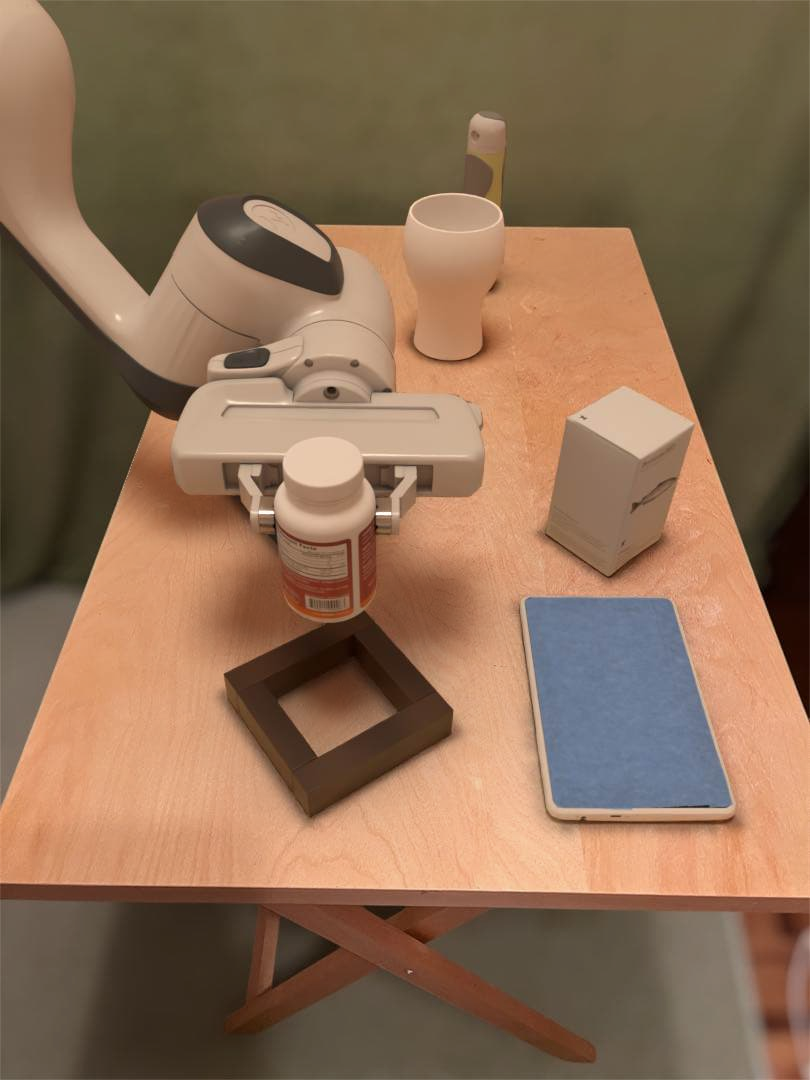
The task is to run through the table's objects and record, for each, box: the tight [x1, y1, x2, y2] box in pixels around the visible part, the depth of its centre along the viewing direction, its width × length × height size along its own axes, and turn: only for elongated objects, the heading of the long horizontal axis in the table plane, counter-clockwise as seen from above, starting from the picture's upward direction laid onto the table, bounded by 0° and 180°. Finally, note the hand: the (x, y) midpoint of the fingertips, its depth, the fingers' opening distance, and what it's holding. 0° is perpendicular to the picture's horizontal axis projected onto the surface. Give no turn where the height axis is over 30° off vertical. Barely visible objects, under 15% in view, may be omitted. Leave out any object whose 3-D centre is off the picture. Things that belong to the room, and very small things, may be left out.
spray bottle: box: [462, 110, 508, 289], centre depth 105 cm, size 5×5×20 cm
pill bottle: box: [274, 437, 378, 624], centre depth 56 cm, size 6×6×11 cm
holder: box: [223, 609, 454, 818], centre depth 64 cm, size 12×12×3 cm
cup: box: [402, 192, 507, 361], centre depth 97 cm, size 11×11×15 cm
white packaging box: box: [544, 384, 696, 577], centre depth 75 cm, size 7×7×13 cm
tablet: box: [518, 595, 737, 822], centre depth 66 cm, size 19×13×1 cm, turn 1°
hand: (324, 527), depth 55 cm, fingers closed on pill bottle, 6 cm apart
